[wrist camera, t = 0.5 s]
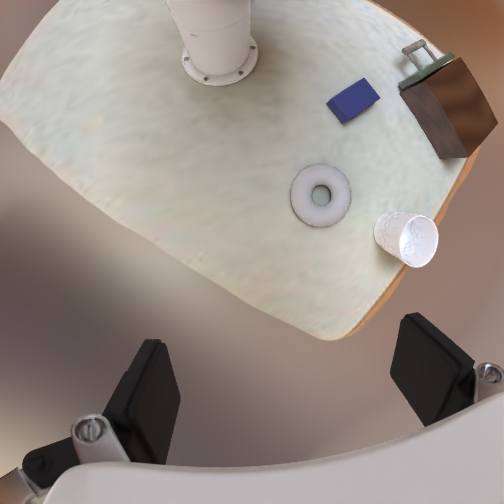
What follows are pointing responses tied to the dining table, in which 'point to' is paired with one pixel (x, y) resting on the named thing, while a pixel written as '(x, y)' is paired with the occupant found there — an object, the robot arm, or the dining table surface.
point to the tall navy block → (353, 100)
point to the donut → (304, 189)
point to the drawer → (422, 71)
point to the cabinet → (451, 110)
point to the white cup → (407, 237)
